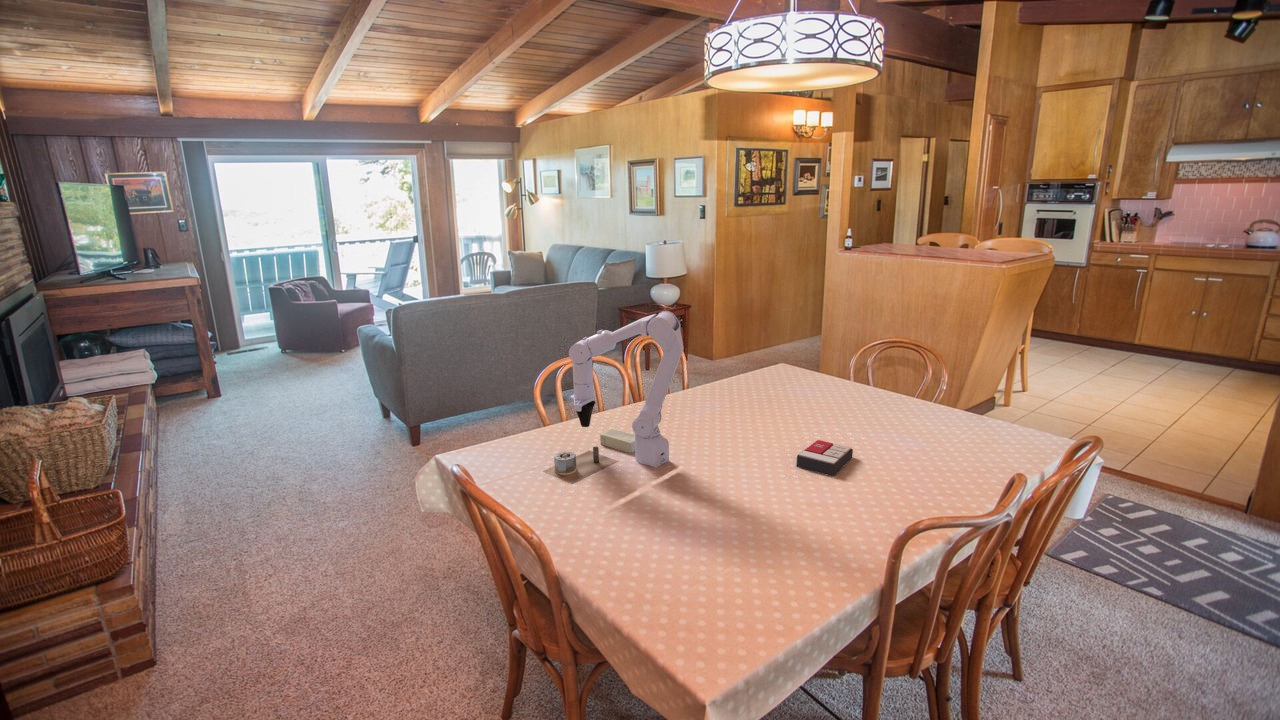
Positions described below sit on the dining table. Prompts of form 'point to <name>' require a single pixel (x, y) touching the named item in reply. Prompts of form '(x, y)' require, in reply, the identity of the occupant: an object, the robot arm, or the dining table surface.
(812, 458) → the calculator
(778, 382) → the dining table surface
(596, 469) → the board
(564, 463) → the collar
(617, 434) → the skincare box
